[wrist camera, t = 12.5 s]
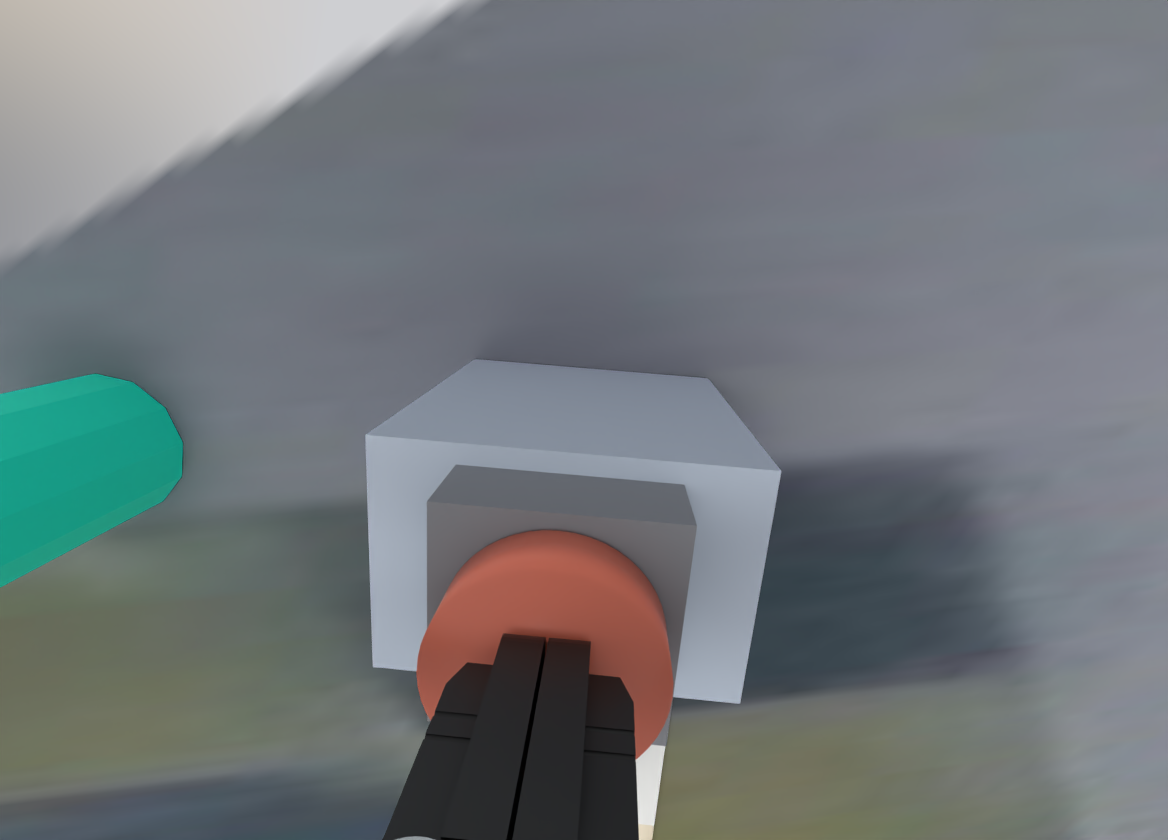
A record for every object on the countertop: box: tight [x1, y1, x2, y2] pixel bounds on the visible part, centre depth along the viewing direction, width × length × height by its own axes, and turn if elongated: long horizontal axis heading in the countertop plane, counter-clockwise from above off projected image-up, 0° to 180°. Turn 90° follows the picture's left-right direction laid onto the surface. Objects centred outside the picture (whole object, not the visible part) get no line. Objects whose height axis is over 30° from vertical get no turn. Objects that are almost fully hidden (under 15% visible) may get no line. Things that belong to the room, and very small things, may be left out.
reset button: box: [417, 530, 673, 760], centre depth 11 cm, size 4×4×3 cm
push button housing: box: [365, 359, 781, 746], centre depth 17 cm, size 9×6×12 cm, turn 86°
